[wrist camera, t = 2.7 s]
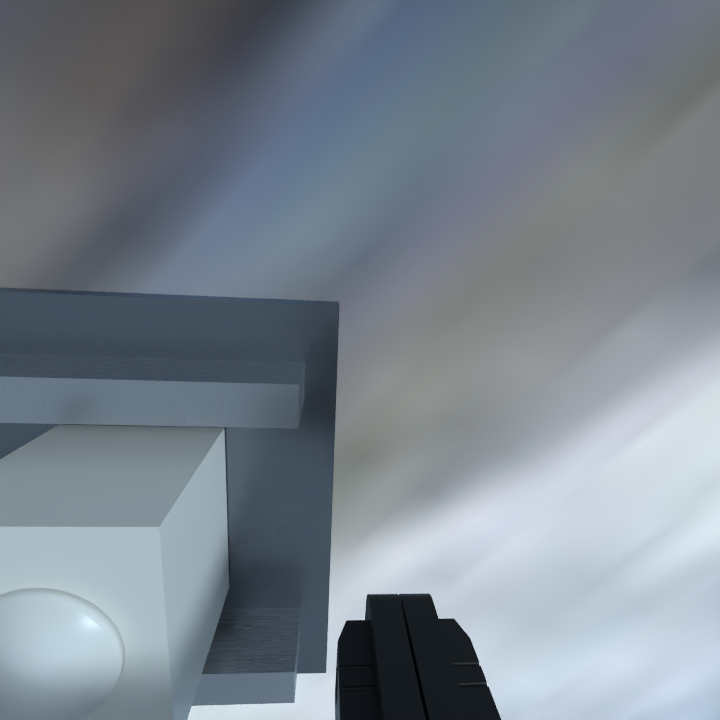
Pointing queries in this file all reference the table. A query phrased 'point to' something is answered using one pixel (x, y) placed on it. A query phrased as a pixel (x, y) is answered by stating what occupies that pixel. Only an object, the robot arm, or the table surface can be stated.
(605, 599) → the table surface
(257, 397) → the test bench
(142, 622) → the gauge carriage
